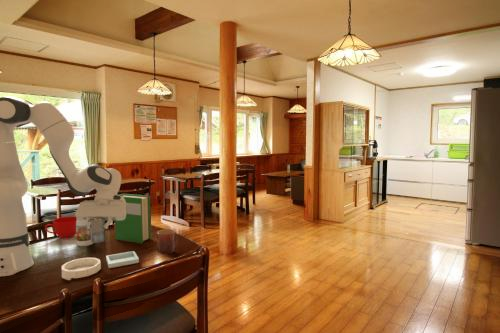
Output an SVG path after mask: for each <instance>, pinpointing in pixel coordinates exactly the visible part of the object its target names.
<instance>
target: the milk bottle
mask: <svg viewBox="0 0 500 333" xmlns="http://www.w3.org/2000/svg"><path fill="white" fill-rule="evenodd" d="M89 223H91V222H89ZM75 236H76V245H77V246H78V247H88V246H91V245H93V244H94V243H93V242H91V229H87V221H86V220H78V219H77V221H76V234H75Z"/></svg>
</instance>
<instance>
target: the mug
mask: <svg viewBox="0 0 500 333" xmlns="http://www.w3.org/2000/svg"><path fill="white" fill-rule="evenodd" d="M156 236H157V237H156V238H157V240H158V252H159V253H160V254H168V255H170V254H173V253H174V251H175V236H176V230H175V229H172V228H164V229H160V230H157V231H156Z"/></svg>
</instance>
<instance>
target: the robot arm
mask: <svg viewBox="0 0 500 333" xmlns="http://www.w3.org/2000/svg"><path fill="white" fill-rule="evenodd" d="M28 124H33V125H34V126H35V127H36V128H37V130H38V131H39V132H40V133H41V135H42V136H43V138H44V139H45V141H46V143H47V145H48V147H49V148H48V150H49V152H50V153H49V154H50V155H51V157H52V159H53V161H54V162H55V164H56V165H57V167H58V169H59V171H60V173H61V174H62V175H63V177H64V179H65V181H66V184H67V186H68V189H69V190H70V192H71V193H73V194H75V195H76V196H80V197H83V196H86V195H88V194H89V193H91V191H93V190H96V194H95V196H94V200H92V199H91V200H88V199H87V200H82V201H81V202H79V204H78V207H77V209H76V211H75V213H74V217H76V218H77V219H78V220H86V221H87V229H91V223H89V222H91V219H95V218H103V219H104V221H107V222H106V223H105V222H104V226H103V228H104V230H107V229H109V226H110V225H112V223H113V221H115V220H124V219H125V218H126V211H127V210H126V201H125V199H124V197H122V196H119V195H120V194H118V193H119V191H120V187H121V184H122V175H121V172H120V171H119V170H117V169H115V168H111V167H110V168H104V167H103V166H101V165H99V164H95V163H94V164H90V165H89V166H87V167H85V168H84V169H83V170H81V171H79V170H78V168H77V167H76V165H75V164H74V161H73V160H72V159H71V156H70V148H71V145H72V143H73V141H74V139H75V131H74V128H73V126H72V124H70V122H69V121H68V120H67V119H66V117H65V116H64V115H63V113H62V112H61V111H60V110H59V109H58V108H57V107H56V106H55V105H54V104H52V103H51V102H48V101H40V102H37V103H35V104H33V103H32V102H30V101H29V100H26V99H24V98H20V97H15V96H14V97H13V96H2V97H0V277H7V276H13V275H15V274H16V273H19V272H21V271H24V270H27V269H29V268H30V267H33V265H34V263H35V262H34V260H33V258H32V255H31V251H30V235H29V232H28V221H27V214H26V211H25V208H24V203H23V197H24V196H25V195H26V194H27V191H28V189H29V188H28V187H29V186H28V185H29V184H28V182H27V180H26V177H25V176H26V175H25V173H24V169H23V168H22V165H21V162H20V160H19V154H18V149H17V144H16V140H15V134H14V130H15V129H16V128H20V127H23V126H25V125H28Z"/></svg>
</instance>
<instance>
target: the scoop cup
mask: <svg viewBox="0 0 500 333" xmlns="http://www.w3.org/2000/svg"><path fill="white" fill-rule="evenodd" d="M104 223H105V220H104V219H103V218H95V219H91V242H93V244H94V243H102V242H104V241H105V233H106V232H105V229H104V228H103V226H104Z"/></svg>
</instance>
